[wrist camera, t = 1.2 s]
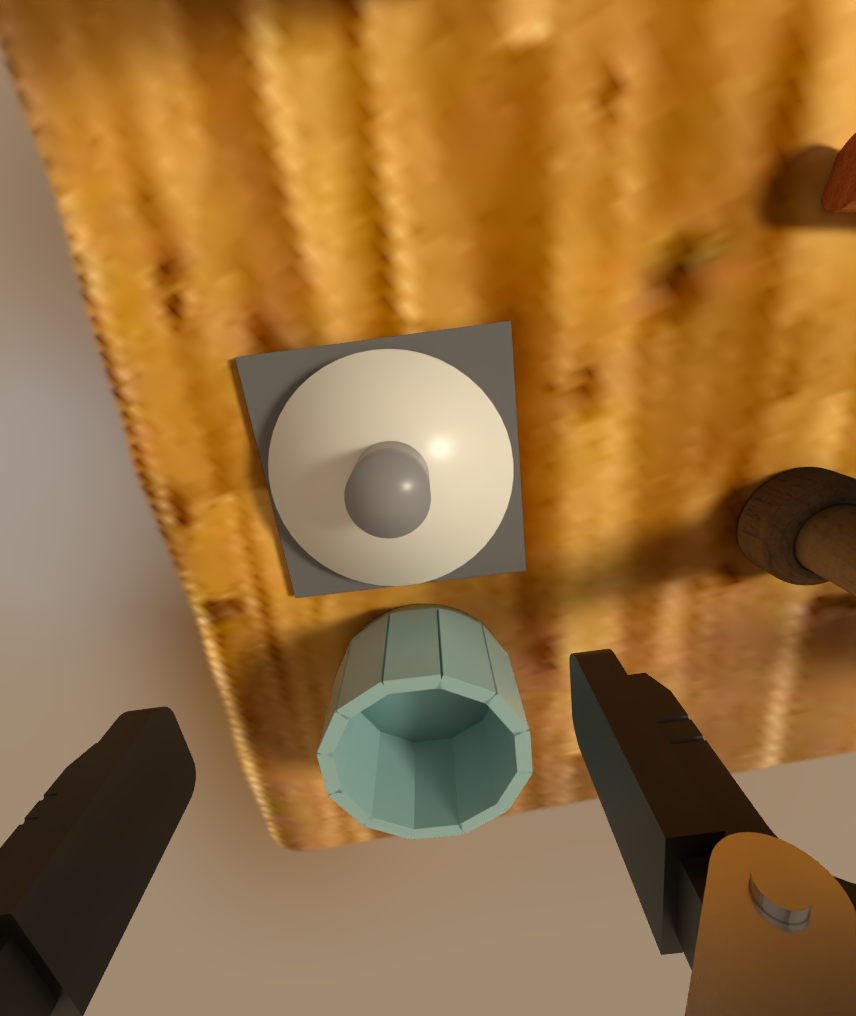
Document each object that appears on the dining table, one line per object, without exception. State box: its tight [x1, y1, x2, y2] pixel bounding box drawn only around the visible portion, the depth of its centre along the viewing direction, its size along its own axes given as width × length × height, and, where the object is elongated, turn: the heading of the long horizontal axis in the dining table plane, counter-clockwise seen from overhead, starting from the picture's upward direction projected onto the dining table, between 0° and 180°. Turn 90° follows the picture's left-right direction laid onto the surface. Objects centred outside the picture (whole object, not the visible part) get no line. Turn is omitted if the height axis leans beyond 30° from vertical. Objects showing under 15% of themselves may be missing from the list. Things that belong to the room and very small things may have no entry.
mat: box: [235, 321, 526, 598], centre depth 26 cm, size 14×14×1 cm
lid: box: [268, 349, 513, 586], centre depth 24 cm, size 13×13×4 cm
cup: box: [317, 604, 533, 840], centre depth 28 cm, size 11×11×7 cm
